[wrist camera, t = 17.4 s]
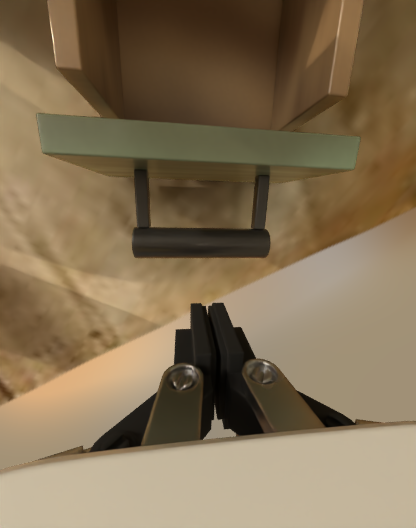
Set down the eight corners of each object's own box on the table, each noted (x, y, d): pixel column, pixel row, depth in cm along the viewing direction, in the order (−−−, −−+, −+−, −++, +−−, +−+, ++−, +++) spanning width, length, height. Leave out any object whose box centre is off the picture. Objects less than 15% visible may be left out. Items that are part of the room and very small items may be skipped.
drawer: (273, 244, 16) (334, 273, 10) (113, 243, 15) (61, 277, 8) (308, -65, 12) (469, -400, 5) (81, -108, 10) (-91, -643, 4)
